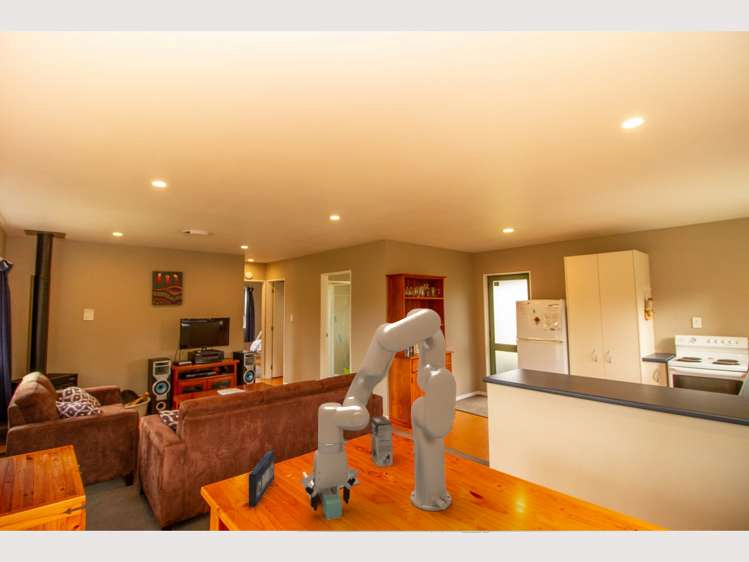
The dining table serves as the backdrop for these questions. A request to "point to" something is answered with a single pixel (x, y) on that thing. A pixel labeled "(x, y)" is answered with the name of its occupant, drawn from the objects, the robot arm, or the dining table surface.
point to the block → (332, 506)
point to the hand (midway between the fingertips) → (330, 505)
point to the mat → (348, 479)
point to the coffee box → (381, 441)
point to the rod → (324, 493)
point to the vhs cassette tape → (261, 478)
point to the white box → (334, 489)
